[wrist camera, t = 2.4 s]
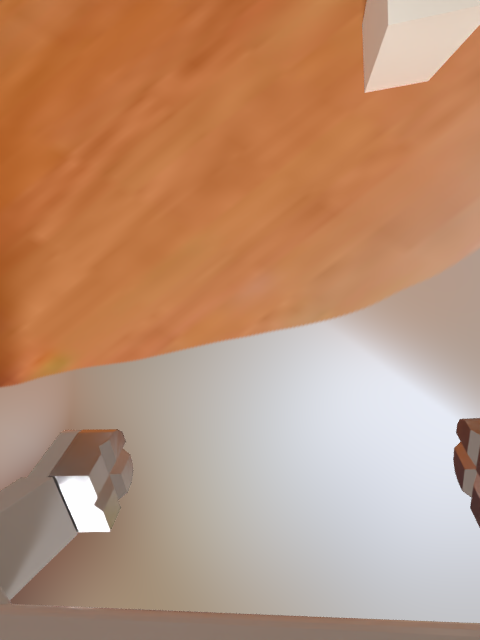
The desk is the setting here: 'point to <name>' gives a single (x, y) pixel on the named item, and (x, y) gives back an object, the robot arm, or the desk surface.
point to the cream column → (413, 38)
